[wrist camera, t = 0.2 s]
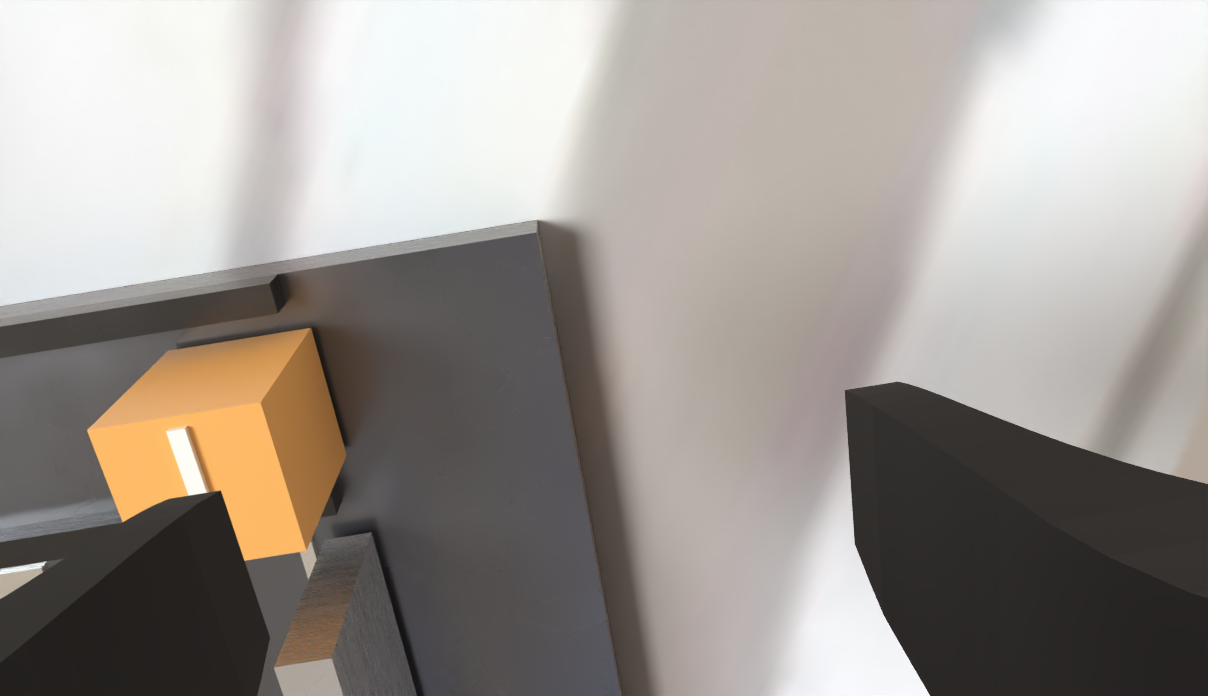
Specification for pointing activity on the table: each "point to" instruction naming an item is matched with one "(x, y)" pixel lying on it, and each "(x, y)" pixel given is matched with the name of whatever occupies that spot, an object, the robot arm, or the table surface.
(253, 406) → the fader
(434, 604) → the console
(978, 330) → the table surface
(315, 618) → the gate
